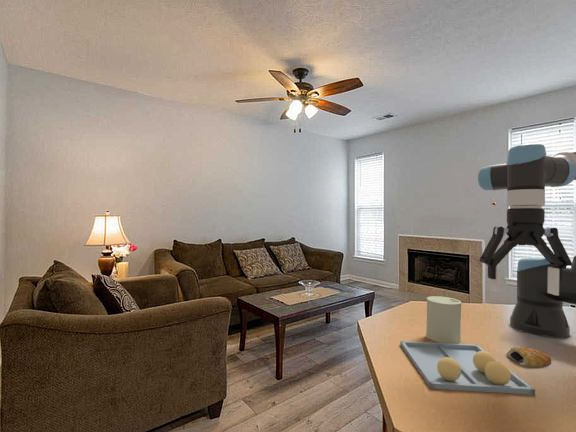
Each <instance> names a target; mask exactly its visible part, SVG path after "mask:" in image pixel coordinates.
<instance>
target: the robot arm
mask: <svg viewBox="0 0 576 432" xmlns="http://www.w3.org/2000/svg"><path fill="white" fill-rule="evenodd" d="M546 151H547V150H546V146H545V145H544V144H542V143H525V144H519V145H515V146H512V147H510V149H508V151H507V152H508V153H507V161H506V162H505V163H500V164H491V165H487V166H484V167H481V168H480V169H479V171H478V175H477V182H478V185H479V187H480V189H483V191H484V190H485V191H499V190H501V191H502V190H507V193H506V197H507V198H506V202H507V203H506V206H507V207H509V208H507V210H506V223H507V226H506V227H503V226H493V229H492V235H491V237H490V238H489V239H490V240H489V241H488V242H487V245H486V246H485V248H484V250H483V252H482V254H481V256H480V257H479V263H482V264H485V265H486V266H487V278H488V279H490V292H493V293H494V294H499V295H500V294H501V266H498V265H499V263H501V261H502V260H503V259H505V257H506V256H507V255H508V254H509V253H510V251H512V250H513V248H515V247H517V246H531V247H534V248H535V249H537V251H538V252H539V253H540V254H541V255H542V257H532V258H531V257H528V258H521V259H519V260H518V262H517V268H516V304H515V305H514V307H513V309H512V312H511V315H510V317H509V325H510V326H511V327H513V328H515V329H516V330H518V331H521V332H524V333H528V334H531V335H536V336H540V337H541V336H542V337H547V338H559V339H561V338H567V337H570V335H571V328H570V325H569V323H568V320H567V316H566V315H565V311H564V307H563V305H564V304H563V303H565V304H571V305H576V255H574V256H573V258H572V261H571V258H570V257H569V255H568V253H567V251H566V248H565V246H564V245H563V243H562V240H561V239H560V237H559V230H558V227H545V228H544V223H545V222H546V221H545V216H546V213H545V212H546V211H545V209H544V208H543V207H545V206H546V187H551V188H559V187H565V186H567V185H569V184H571V183H572V182H573V181H576V148H575V149H571V150H568V151H567V150H566V151H562V152H559V153H556V154H555V155H553V156H551V155H547V152H546ZM505 235H507V236H508V237H506V239H505V240H504V241H503V243H502V244H501V242H502V240H503V239H504V237H505ZM543 236H545V238H546V239H547V242H548V244H549V245H550V247H551V248H550V247H549V245H547V242H546V241H545V240H544V239H543ZM500 244H501V246H500V247H499V245H500Z"/></svg>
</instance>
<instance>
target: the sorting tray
mask: <svg viewBox="0 0 576 432" xmlns="http://www.w3.org/2000/svg"><path fill="white" fill-rule="evenodd" d="M400 347H401V348H402V350H403V351H404V352H405V354H406V355H407V357H408V358H409V359H410V360H411V362H412V364H413V365H414V367H415V368H416V370H417V371H418V372H419V373H420V375H421V377H422V379H424V381H425V383H426V384H427V386H428V387H429V389H430V390H433V389H434V390H449V391H465V392H482V393H496V394H497V393H500V394H515V395H529V396H530V395H536V389H535V388H534V387H532V386H531V385H530V384H529V383H527V382H526V381H525V380H523V379H522V378H521V377H520V376H518V375H517V374H516V373H514V372H513V371H512V370H511V369H509V370H510V373H511V379H510V381H509V383H507V384H506V385H496V384H494V383H492V382H491V381H490V380H489V379H488V378H487V377H486V374H485V373H483V372H480V371H479V370H478V369H477V368H476V367H475V366H474V363H473V356H474V354H475V353H477V352H479V351H486V350H485V349H483V348H482V347H481V346H480V345H479V344H474V343H473V344H471V343H470V344H469V343H468V344H467V343H456V344H452V343H440V342H430V341H429V342H428V341H427V342H426V341H408V340H400ZM445 357H449V358H452V359H454V360H455V361H457V362H458V364H459V365H460V368H461V375H460V377H459V378H458V379H457V380H455V381H448V380H445V379H444V378H442V377H441V376H440V374H439V373H438V370H437V364H438V362H439V360H440V359H442V358H445ZM496 361H499V360H498V359H496Z"/></svg>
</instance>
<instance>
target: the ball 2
mask: <svg viewBox="0 0 576 432" xmlns="http://www.w3.org/2000/svg"><path fill="white" fill-rule="evenodd" d="M510 370H511V369H509V367H508V366H507V365H506V364H504V363H503V362H501V361H499V360H498V361H491V362H489V363H487V365H486V366H485V374H486V377H487V378H488V379H489V380H490V381H491V382H492V383H494V384H496V385H506V384H507V383H509V381H510V379H511V373H510Z"/></svg>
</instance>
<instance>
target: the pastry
mask: <svg viewBox="0 0 576 432" xmlns="http://www.w3.org/2000/svg"><path fill="white" fill-rule="evenodd" d="M505 356H506V357H507V358H510V359H512V360H513V361H515V362H519V365H522V366H525V367H529V368H541V367H545V366H548V365H550V364H551V363H552V358H551V356H550V355H548V354H547V353H544V351H542V350H539V349H538V350H537V349H535V348H531V347H527V346H513V347H510V349H509V350H507V352H506V354H505Z"/></svg>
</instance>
